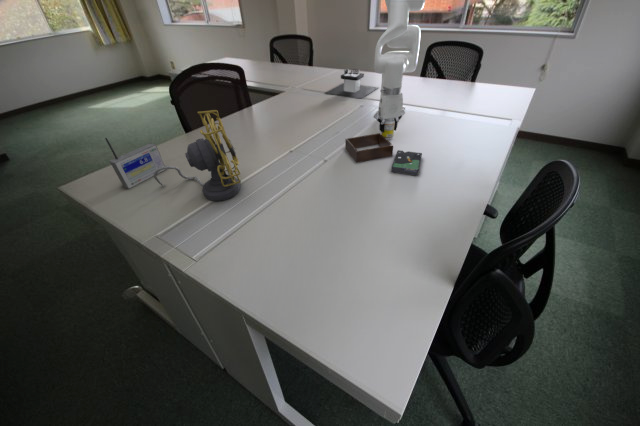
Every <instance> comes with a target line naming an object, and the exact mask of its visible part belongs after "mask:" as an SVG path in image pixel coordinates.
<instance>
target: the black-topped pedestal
mask: <svg viewBox="0 0 640 426" xmlns="http://www.w3.org/2000/svg"><path fill="white" fill-rule="evenodd" d="M364 77H365V73H360V69H357V68H356V69H355V68H351V69H350V72H349V68H346V69H343V73H342V74H340V79H341V80H343V83H341V84H339V85H338V86H335V87H333V88H332V89H329V90H328V91H326V92H325V94H328V95H334V96H341V97H349V98H355V99H361V100H362V99H363V98H365V97H367V96H368V95H369V94H371V93H372V92H374V91H375V90H377V89H379V87H377V86H369V85H361V79H363V78H364Z"/></svg>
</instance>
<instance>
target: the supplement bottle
mask: <svg viewBox="0 0 640 426" xmlns="http://www.w3.org/2000/svg"><path fill="white" fill-rule="evenodd" d="M384 125H385V126H384V132H383V133H382V132H381V135H382V136H383V137H385V138H386V139H387V140H391V139H393V138H394V133H395V130H394V125H395V120H394V118H389V119H385V121H384Z"/></svg>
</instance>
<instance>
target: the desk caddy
mask: <svg viewBox="0 0 640 426" xmlns="http://www.w3.org/2000/svg"><path fill="white" fill-rule="evenodd" d="M344 143H345V147H344V148H345V151H346V152H347V153H348V154H349V155H350V157H351V158H352V160H354V162H355V164H357V163H362V162H367V161H373V160H374V161H375V160H378V159H383V158H384V159H385V158H389V157H393V154H394V153H393V152H394V144H392V142H390V141H389V139H386V138H385V137H383V136H382V133H380V132H379V133H371V134H365V135H361V136H353V137H348V138H345V142H344ZM376 145H378V146H377V147H371V148H365V149H361V150H358V149H359V148H364V147H370V146H376Z"/></svg>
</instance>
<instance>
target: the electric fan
mask: <svg viewBox="0 0 640 426" xmlns="http://www.w3.org/2000/svg"><path fill="white" fill-rule="evenodd" d="M197 114H198V115H199V117H200V119H201V122H202V125H203V126H204V128H205V130H206V132H204V130H203V129H199V133H200V134H201V135H203V137H204V138H198V139H195V141H194V142H191V143H189V144H188V145H187V149H186V150H187V151H186V152H185V154H184V155H185V158H186V161H187V162H188V164H189V166H190V167H191V168H195V169H197V170H198V171H201V172H204V171H207V170H208V172H210V175H211V177H210V178H209V180H207V181H205V183H203V182H202V181H201V180H200V178H199V177H198V176H197V175H195V176H186V175H185V174H183V173H182V171H181V169H180V168H179V167H177V166H173V165H165V167H161V168H159V169H157V170H156V171H155V172H154V176H153V179H155V180H156V182H157V183H158V184H159V185H160V186H162V187H164V184H163V183H162V181H161V180H160V179H159V178H158V174H159V173H158V172H159V171H161V170H164V169H166V170H176V171H177V173H178V175H179V176H180V177H181V178H183V179H185V180H190V181H191V180H196V182H197V183H198V184H199V185H200V186H201V187H202V194H203V196H204V197H205V198H206V199H207V200H210V201H213V202H222V201H226V200H229V199H232V198H233V197H235V196H236V195H237V194H238V193H239V192H240V190H241V182H242V181H241V178H240V175H241V171H240V170H239V167H238V166H239V165H240V161H239V159H238V157H237V153H236V148H235V146H234V145H233V142H232V141H231V140H230V138H229V137H228V136H227V133H226V130H225V127H224V125H223V121H222V119H221V117H220V115H219V110H217V109H211V110H204V111H203V110H202V111H197ZM202 114H204V115H202ZM210 114H213V115H215V116H216V118H215V119H216V120H217V121H218V122H215V120H214V118H213V117H212V116H211V115H210ZM206 119H207V120H206ZM219 133H221V135H222V137H220V134H219ZM221 138H222V139H223V141H224V143H225V145H226V147H227V148H228V151H226V149H225V147H224V144H223V143H222V140H221ZM227 153H229V154H231V157H232V159H231V160H229V157H228V156H227ZM231 163H232V164H233V167H232V166H231ZM164 171H165V170H164ZM157 173H158V174H157ZM227 173H228V174H227Z"/></svg>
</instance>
